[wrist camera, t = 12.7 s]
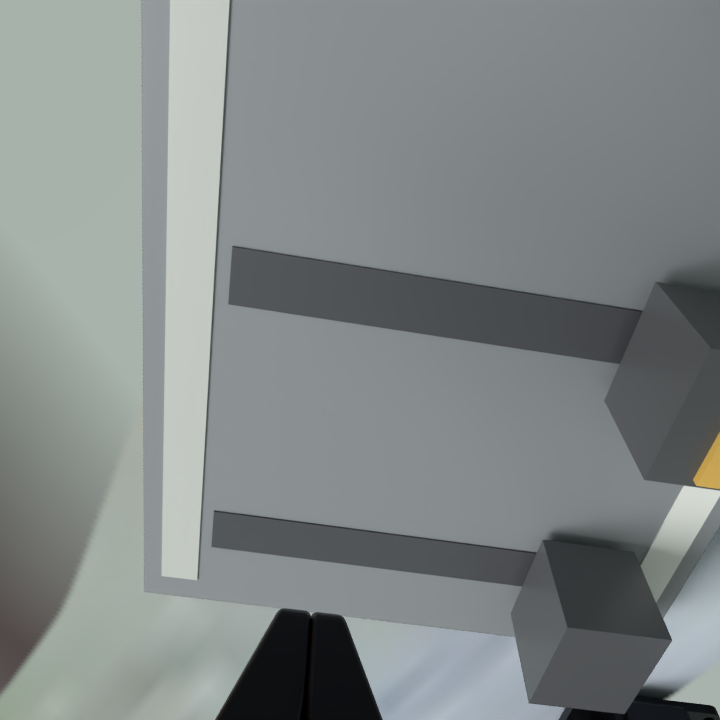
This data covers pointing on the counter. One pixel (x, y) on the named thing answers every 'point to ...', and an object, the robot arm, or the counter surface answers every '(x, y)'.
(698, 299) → the handle
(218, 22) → the panel
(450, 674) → the counter surface
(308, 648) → the robot arm
